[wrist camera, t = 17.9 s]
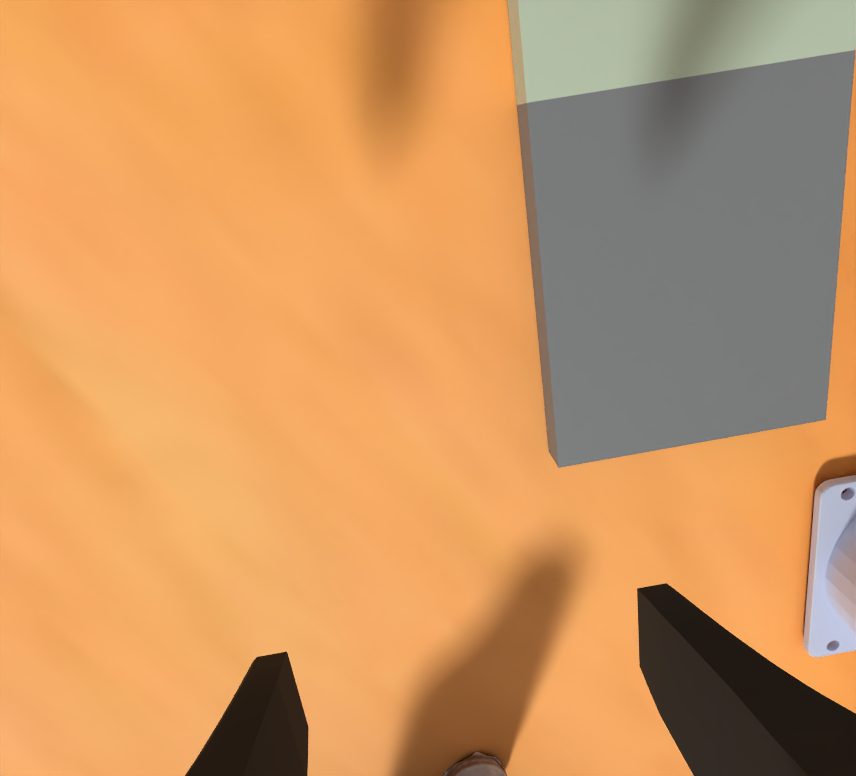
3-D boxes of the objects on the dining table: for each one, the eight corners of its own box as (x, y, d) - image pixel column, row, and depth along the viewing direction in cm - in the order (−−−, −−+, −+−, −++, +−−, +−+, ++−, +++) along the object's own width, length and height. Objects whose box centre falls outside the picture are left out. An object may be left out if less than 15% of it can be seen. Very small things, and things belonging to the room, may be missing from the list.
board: (861, -486, 15) (902, -539, 14) (802, 406, 23) (825, 419, 21) (467, -434, 14) (476, -482, 13) (548, 451, 22) (558, 467, 21)
